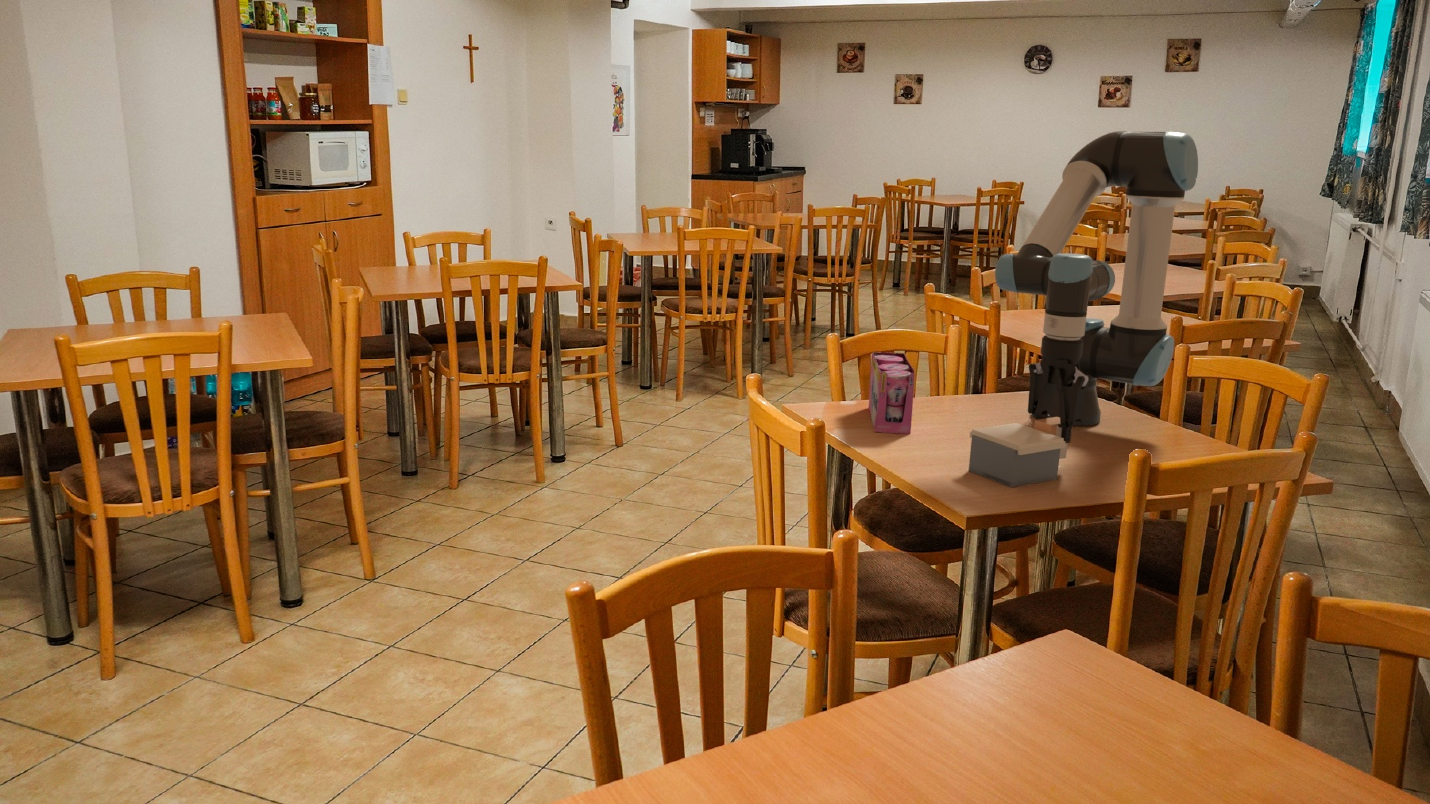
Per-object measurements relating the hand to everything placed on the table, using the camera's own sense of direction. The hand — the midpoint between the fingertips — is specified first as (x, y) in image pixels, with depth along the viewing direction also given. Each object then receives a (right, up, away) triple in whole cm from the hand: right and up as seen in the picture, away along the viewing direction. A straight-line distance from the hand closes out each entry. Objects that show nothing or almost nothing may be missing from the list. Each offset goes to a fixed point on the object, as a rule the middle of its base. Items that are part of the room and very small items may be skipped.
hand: (1050, 454), depth 205 cm
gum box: (-26, +6, +33) cm, 43 cm away
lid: (-5, +2, -4) cm, 7 cm away
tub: (-9, -4, -4) cm, 10 cm away
